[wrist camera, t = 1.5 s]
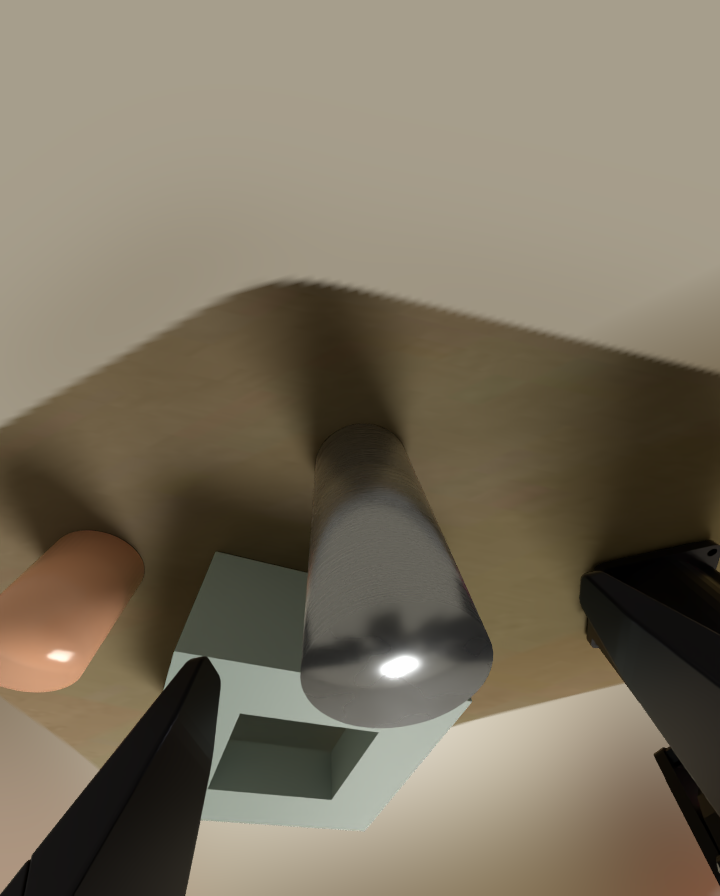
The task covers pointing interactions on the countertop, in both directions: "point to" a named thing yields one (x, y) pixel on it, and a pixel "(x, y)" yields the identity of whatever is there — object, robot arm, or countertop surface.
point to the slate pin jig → (286, 712)
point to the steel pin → (383, 593)
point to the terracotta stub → (64, 609)
